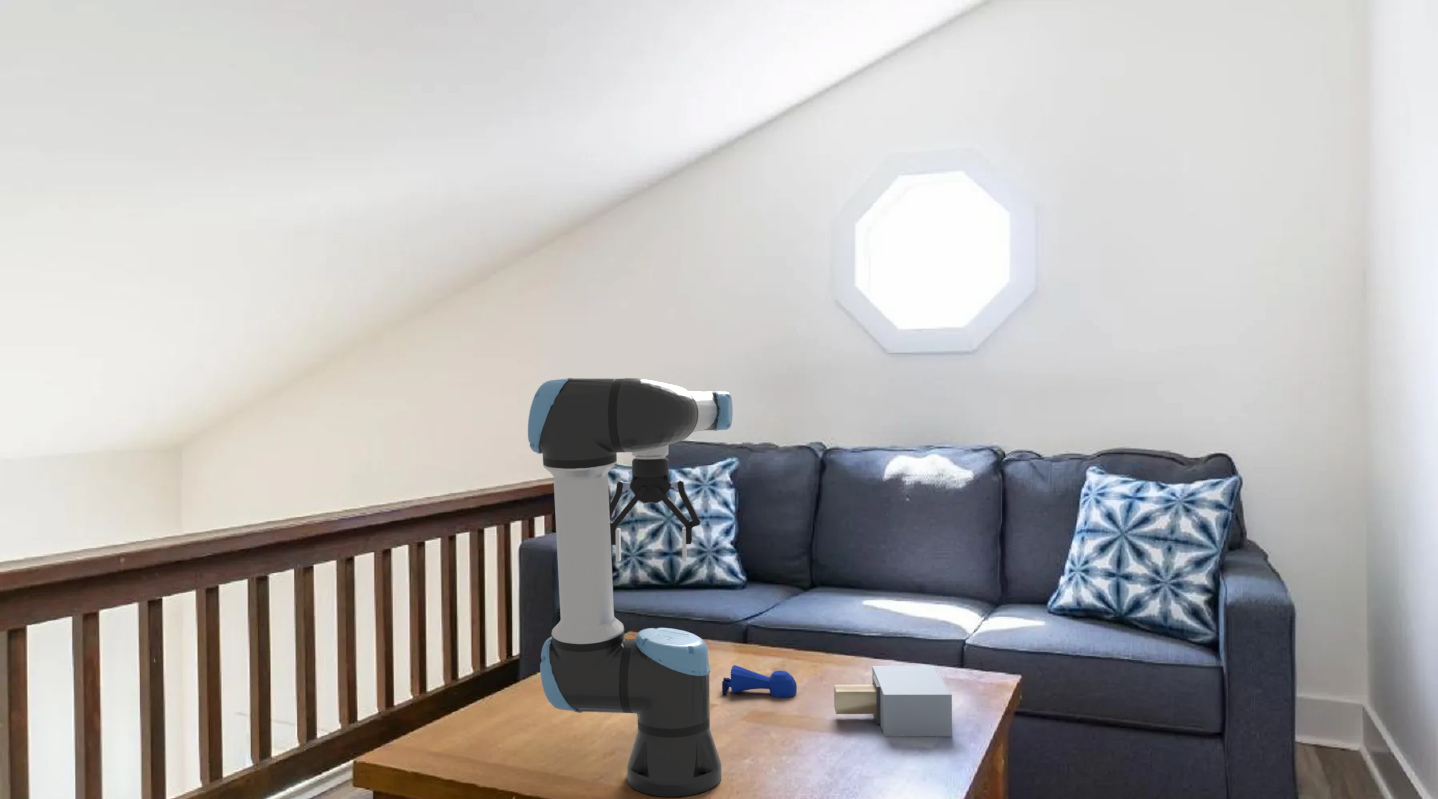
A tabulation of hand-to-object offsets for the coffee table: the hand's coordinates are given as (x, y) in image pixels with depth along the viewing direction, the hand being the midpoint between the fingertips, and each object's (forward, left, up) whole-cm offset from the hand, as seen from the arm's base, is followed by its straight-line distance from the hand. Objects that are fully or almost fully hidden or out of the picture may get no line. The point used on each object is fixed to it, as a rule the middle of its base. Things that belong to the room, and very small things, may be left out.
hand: (651, 560), depth 208 cm
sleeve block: (-18, -50, -27) cm, 59 cm away
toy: (-2, -22, -27) cm, 35 cm away
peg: (-18, -44, -25) cm, 54 cm away
